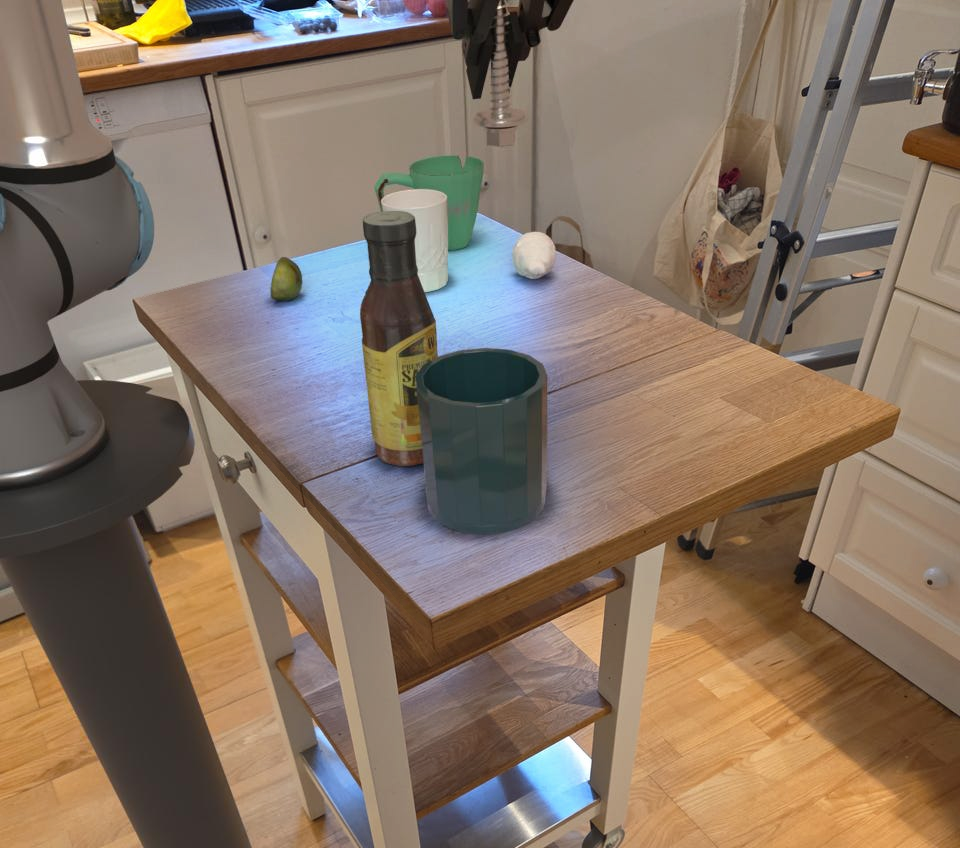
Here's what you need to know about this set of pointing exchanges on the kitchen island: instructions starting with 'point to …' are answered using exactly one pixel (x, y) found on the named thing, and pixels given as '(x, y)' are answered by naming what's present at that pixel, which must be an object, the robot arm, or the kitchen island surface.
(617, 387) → the kitchen island surface
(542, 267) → the garlic bulb
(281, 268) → the lime
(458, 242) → the mug
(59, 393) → the robot arm
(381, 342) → the sauce bottle
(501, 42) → the screw
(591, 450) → the kitchen island surface
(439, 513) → the crock
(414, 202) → the white cup
